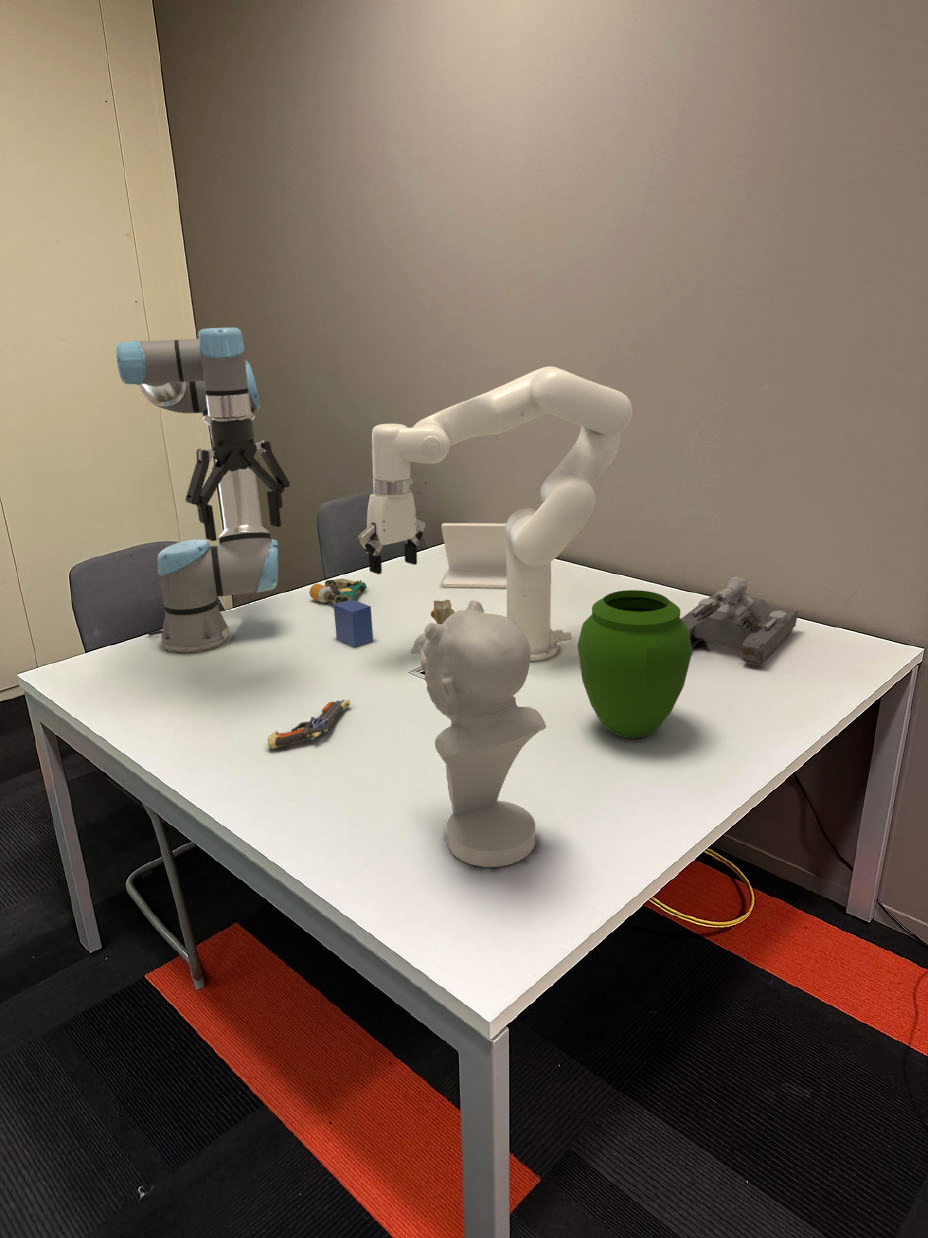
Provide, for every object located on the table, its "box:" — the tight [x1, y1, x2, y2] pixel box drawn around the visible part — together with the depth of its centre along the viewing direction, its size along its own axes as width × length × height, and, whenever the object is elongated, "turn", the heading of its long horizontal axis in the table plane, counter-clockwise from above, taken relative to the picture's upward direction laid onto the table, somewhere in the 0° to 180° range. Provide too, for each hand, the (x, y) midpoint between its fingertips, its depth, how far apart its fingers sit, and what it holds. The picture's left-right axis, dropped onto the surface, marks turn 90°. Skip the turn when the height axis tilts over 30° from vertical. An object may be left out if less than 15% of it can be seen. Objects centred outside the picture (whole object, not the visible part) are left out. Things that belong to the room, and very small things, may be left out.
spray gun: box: [308, 578, 367, 604], centre depth 226 cm, size 4×17×15 cm
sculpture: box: [430, 599, 456, 624], centre depth 177 cm, size 6×7×15 cm
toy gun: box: [267, 699, 351, 749], centre depth 157 cm, size 3×19×10 cm
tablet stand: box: [441, 522, 507, 589], centre depth 235 cm, size 18×25×17 cm
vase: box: [576, 589, 693, 739], centre depth 149 cm, size 20×20×24 cm
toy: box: [680, 576, 799, 666], centre depth 187 cm, size 25×20×15 cm
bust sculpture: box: [410, 599, 547, 868], centre depth 121 cm, size 16×24×35 cm
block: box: [333, 599, 374, 648], centre depth 196 cm, size 5×7×9 cm
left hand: (244, 532), depth 161 cm, fingers open, 13 cm apart
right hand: (393, 567), depth 178 cm, fingers open, 9 cm apart
